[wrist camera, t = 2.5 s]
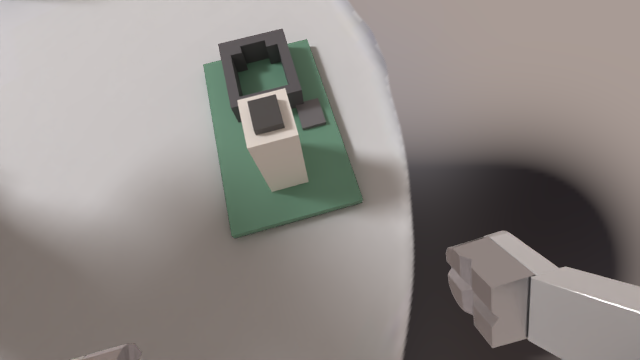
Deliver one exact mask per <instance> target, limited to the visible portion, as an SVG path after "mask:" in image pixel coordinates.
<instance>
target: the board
mask: <svg viewBox="0 0 640 360" xmlns="http://www.w3.org/2000/svg"><path fill="white" fill-rule="evenodd" d="M218 46H219V51H220V56H221V60H220V61H216V62H212V63H208V64H203V66H204V72H205V78H206V84H207V90H208V96H209V103H210V109H211V115H212V121H213V127H214V133H215V139H216V145H217V151H218V157H219V163H220V169H221V175H222V181H223V187H224V193H225V199H226V205H227V211H228V217H229V223H230V229H231V235H232V237H234V238H238V237H241V236H245V235H249V234H252V233H256V232H259V231H263V230H266V229H270V228H273V227H277V226H281V225H284V224H288V223H291V222H295V221H298V220H302V219H305V218H309V217H313V216H316V215H320V214H323V213H327V212H330V211H334V210H338V209H341V208H345V207H348V206H352V205H355V204H359V203H362V201H363V198H362V195H361V192H360V190H359V187H358V184H357V181H356V178H355V175H354V172H353V170H352V167H351V164H350V161H349V158H348V155H347V152H346V150H345V147H344V144H343V141H342V138H341V135H340V132H339V130H338V127H337V124H336V121H335V118H334V115H333V112H332V110H331V107H330V104H329V101H328V98H327V95H326V92H325V90H324V87H323V84H322V81H321V78H320V75H319V72H318V70H317V67H316V64H315V61H314V58H313V55H312V52H311V50H310V47H309V44H308V41H307V39H306V40H302V41H298V42H294V43H289V44H287V41H286V38H285V35H284V32H283V29H279V30H275V31H271V32H266V33H262V34H258V35H254V36H250V37H246V38H241V39H237V40H233V41H229V42H225V43H221V44H218ZM284 88H285V90H286V93H287V96H288V100H289V103H290V107H291V110H292V114H293V117H294V121H295V124H296V128H297V131H298V135H299V139H300V144H301V148H302V153H303V158H304V162H305V167H306V172H307V176H308V181H309V182H307V183H303V184H299V185H296V186H292V187H288V188H285V189H281V190H277V191H274V192H272V191H271V190H270V188H269V186H268V184H267V183H266V181H265V179H264V177H263V175H262V174H261V172H260V170H259V168H258V167H257V165H256V163H255V161H254V160H253V158H252V156H251V154H250V153H249V151H248V149H247V145H246V141H245V136H244V131H243V126H242V121H241V117H240V112H239V107H238V102H237V100H240V99H244V98H248V97H252V96H256V95H260V94H264V93H268V92H272V91H276V90H280V89H284Z"/></svg>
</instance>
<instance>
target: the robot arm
mask: <svg viewBox="0 0 640 360" xmlns="http://www.w3.org/2000/svg"><path fill="white" fill-rule="evenodd" d="M446 260H447V262H448V263H449V264H450V265H451V267H452V268H451V270H450V271H449V273H448V279H449V285H450V288H451V291H452V294H453V296H454V298H455V299H456V301H457V303H458V304H459V305H460V307H461V308H462V309H463V311H466V312H468V313H470V314H472V315H474V325H475V326H476V328H477V329H478V330H479V332H480V333H481V334H482V335H483V336H484V338H485V339H486V340H487V342H488V343H489V344H490V346H491V347H492V348H495V347H498V346H502V345H506V344H509V343H512V342H516V341H520V340H523V339H527V338H528V340H529V341H530V342H532V343H534V344H536V345H537V346H539V347H541V348H543V349H545V350H547V351H548V352H550V353H552V354H554V355H555V356H557V357H559V358H561V359H563V360H640V287H639V286H635V285H631V284H628V283H624V282H620V281H617V280H613V279H609V278H606V277H602V276H598V275H595V274H591V273H587V272H584V271H580V270H576V269H572V268H569V267H563V268H558V267H557V266H555V265H554V264H553V263H551V262H550V261H548V260H547V259H545V258H544V257H543V256H541V255H540V254H538V253H537V252H535V251H534V250H533V249H531V248H530V247H529V246H527V245H526V244H524V243H523V242H522V241H520V240H519V239H517V238H516V237H514V236H513V235H512V234H510V233H509V232H506V231H500V232H496V233H493V234H490V235H487V236H484V237H482V238H478V239H475V240H472V241H469V242H466V243H463V244H459V245H456V246H452V247H449V248H447V251H446ZM141 354H142V352H141V350H140V349H139V348H138V346H137V345H136V344H135V343H127V344H124V345H120V346H116V347H113V348H109V349H105V350H102V351H98V352H94V353H91V354H88V355H85V356H81V357H78V358H74V359H70V360H140V358H141Z"/></svg>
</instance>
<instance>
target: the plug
mask: <svg viewBox="0 0 640 360" xmlns="http://www.w3.org/2000/svg"><path fill="white" fill-rule="evenodd" d="M237 102H238V107H239V112H240V117H241V121H242V126H243V131H244V136H245V141H246V145H247V149H248V151H249V153H250V154H251V156H252V158H253V160H254V161H255V163H256V165H257V167H258V168H259V170H260V172H261V174H262V175H263V177H264V179H265V181H266V183H267V184H268V186H269V188H270V190H271V191H272V192H274V191H277V190H281V189H285V188H288V187H292V186H296V185H299V184H303V183H307V182H309V181H308V176H307V172H306V167H305V162H304V158H303V153H302V148H301V144H300V139H299V135H298V131H297V128H296V124H295V121H294V117H293V114H292V110H291V107H290V103H289V100H288V96H287V93H286V90H285V88H284V89H280V90H276V91H272V92H268V93H264V94H260V95H256V96H252V97H248V98H244V99H240V100H237Z"/></svg>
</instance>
